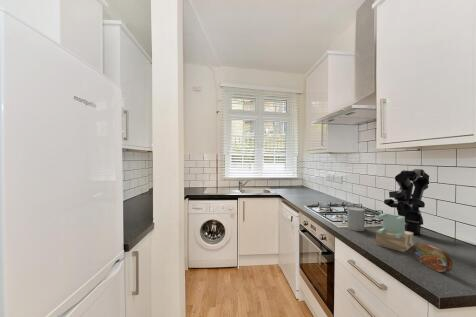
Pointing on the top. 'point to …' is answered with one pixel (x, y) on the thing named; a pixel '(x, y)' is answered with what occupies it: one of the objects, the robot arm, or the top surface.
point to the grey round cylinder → (356, 218)
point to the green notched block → (393, 224)
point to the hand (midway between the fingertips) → (400, 217)
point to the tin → (432, 257)
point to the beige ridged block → (395, 240)
